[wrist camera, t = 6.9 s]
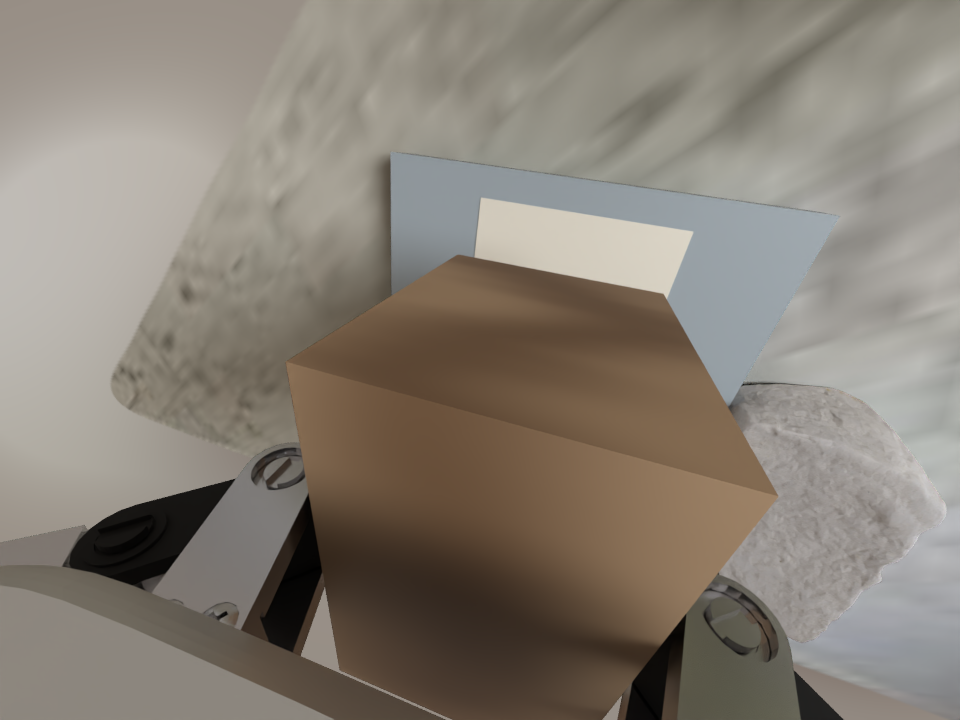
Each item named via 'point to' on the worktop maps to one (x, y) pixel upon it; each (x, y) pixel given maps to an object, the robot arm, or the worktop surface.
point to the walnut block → (516, 488)
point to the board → (615, 245)
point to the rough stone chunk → (826, 503)
